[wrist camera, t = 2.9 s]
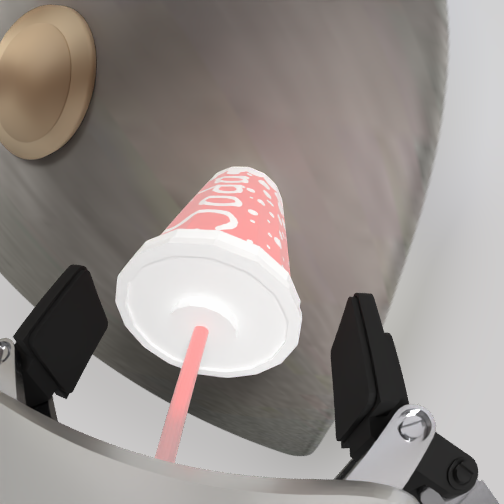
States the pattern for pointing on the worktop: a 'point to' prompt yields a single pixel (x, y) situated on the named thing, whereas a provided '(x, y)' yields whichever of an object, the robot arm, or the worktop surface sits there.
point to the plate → (45, 80)
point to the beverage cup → (214, 290)
